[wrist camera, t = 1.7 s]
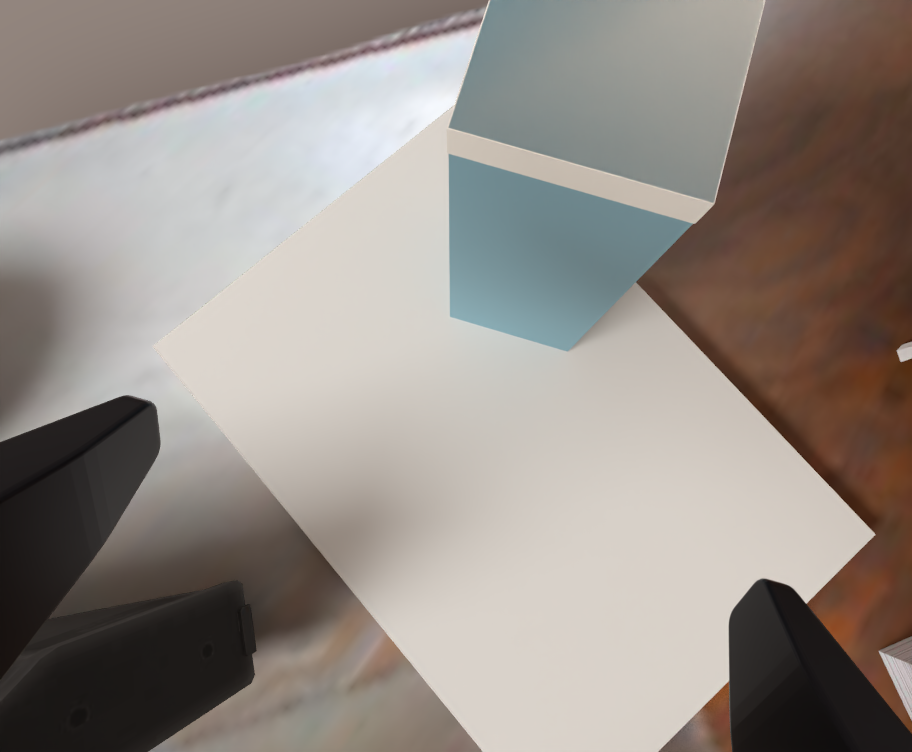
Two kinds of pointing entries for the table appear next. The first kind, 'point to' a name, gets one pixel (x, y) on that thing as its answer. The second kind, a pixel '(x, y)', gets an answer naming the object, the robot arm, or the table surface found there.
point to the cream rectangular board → (507, 474)
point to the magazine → (127, 673)
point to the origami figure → (905, 352)
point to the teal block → (585, 152)
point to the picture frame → (900, 669)
